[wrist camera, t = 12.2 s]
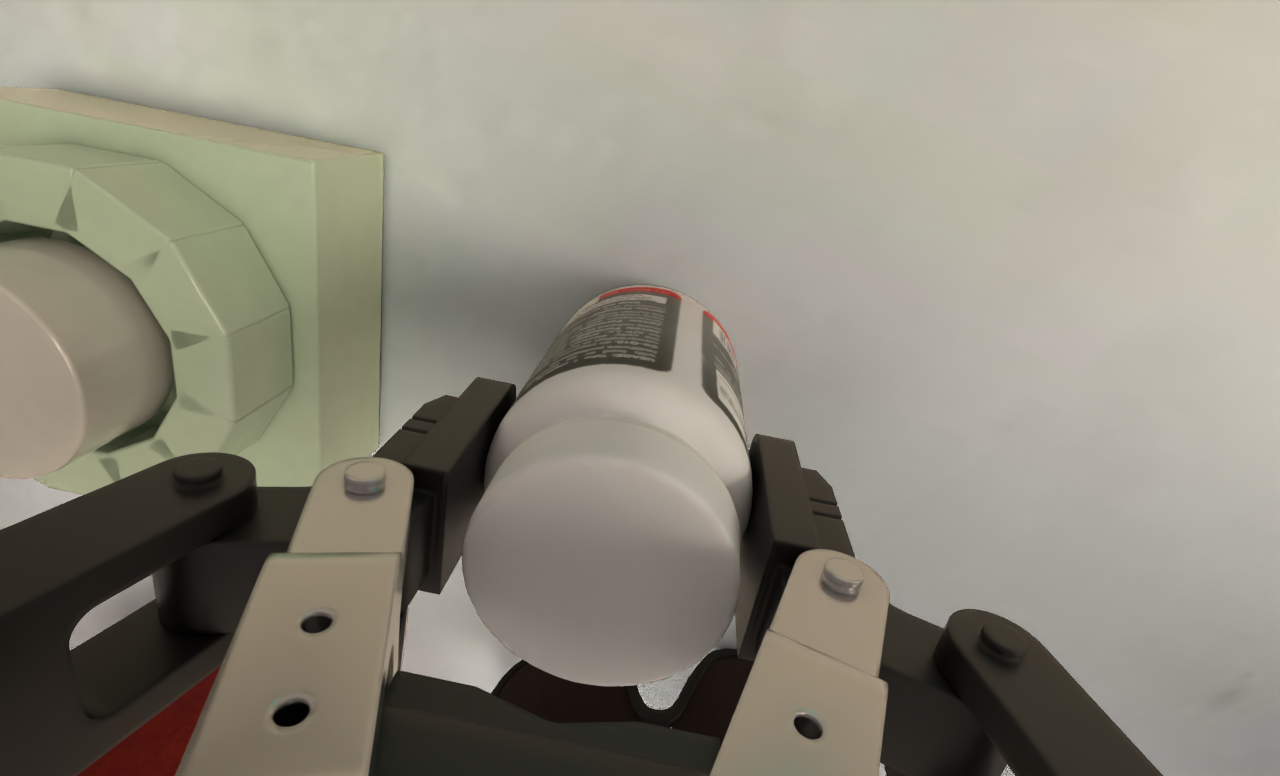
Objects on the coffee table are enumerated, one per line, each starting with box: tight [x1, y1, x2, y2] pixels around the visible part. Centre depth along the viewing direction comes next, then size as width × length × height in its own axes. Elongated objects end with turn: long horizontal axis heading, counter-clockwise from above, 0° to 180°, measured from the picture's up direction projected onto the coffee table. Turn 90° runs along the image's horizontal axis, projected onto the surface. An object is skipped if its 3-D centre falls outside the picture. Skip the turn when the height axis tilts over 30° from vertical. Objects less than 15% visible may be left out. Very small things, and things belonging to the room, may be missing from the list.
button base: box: [0, 87, 384, 495], centre depth 15 cm, size 8×8×5 cm
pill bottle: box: [462, 285, 753, 686], centre depth 13 cm, size 5×5×8 cm
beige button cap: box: [0, 237, 174, 479], centre depth 12 cm, size 4×4×2 cm
